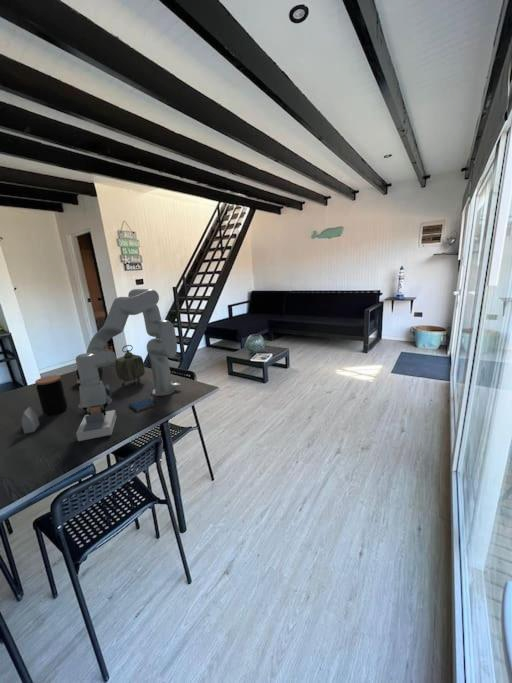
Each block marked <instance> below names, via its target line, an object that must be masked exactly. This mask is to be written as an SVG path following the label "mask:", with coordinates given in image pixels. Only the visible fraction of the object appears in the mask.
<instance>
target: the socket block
mask: <svg viewBox="0 0 512 683" xmlns="http://www.w3.org/2000/svg"><path fill="white" fill-rule="evenodd" d="M105 411H106V410H105ZM87 415H88V414H85V415H84V416H83V419H82V421H81V423H79V424H80V425H79V426H78V428H77V431H76V433H75V434H76V438H77V442H82V441H85V440H86V441H87V440H92V439H96V438H101V437H106V436H112V435H113V431H114V428H115V424H116V420H117V412H116V410H115V409H112V410H107V411H106V415H105V417H104V419H105V421H104V424H103V427H102V428H101V429H96V430H90V431H85V432H84V431H83V430H84V427H85V425H86V418H85V416H87Z"/></svg>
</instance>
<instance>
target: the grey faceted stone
mask: <svg viewBox="0 0 512 683" xmlns="http://www.w3.org/2000/svg"><path fill="white" fill-rule="evenodd" d="M40 425H41V424H40V420H39V417H38V414H37V412H36V411H35V409H33V408H32V407H31V406H28V407H27V408H26V409H25V410H24V411H23V413H22V418H21V427H22V429H23V430H22V431H23V433H24V434H25V435H26V434H30V433H34V432H36V430H37V429H38V428H39V426H40Z"/></svg>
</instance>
